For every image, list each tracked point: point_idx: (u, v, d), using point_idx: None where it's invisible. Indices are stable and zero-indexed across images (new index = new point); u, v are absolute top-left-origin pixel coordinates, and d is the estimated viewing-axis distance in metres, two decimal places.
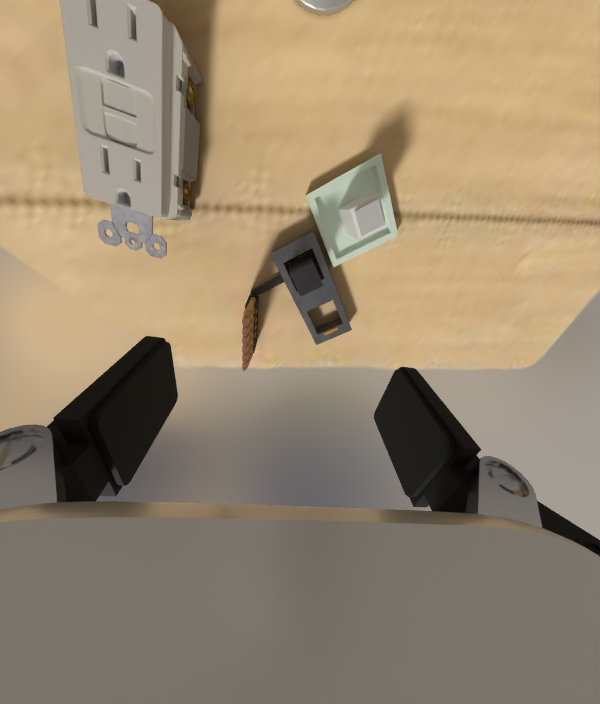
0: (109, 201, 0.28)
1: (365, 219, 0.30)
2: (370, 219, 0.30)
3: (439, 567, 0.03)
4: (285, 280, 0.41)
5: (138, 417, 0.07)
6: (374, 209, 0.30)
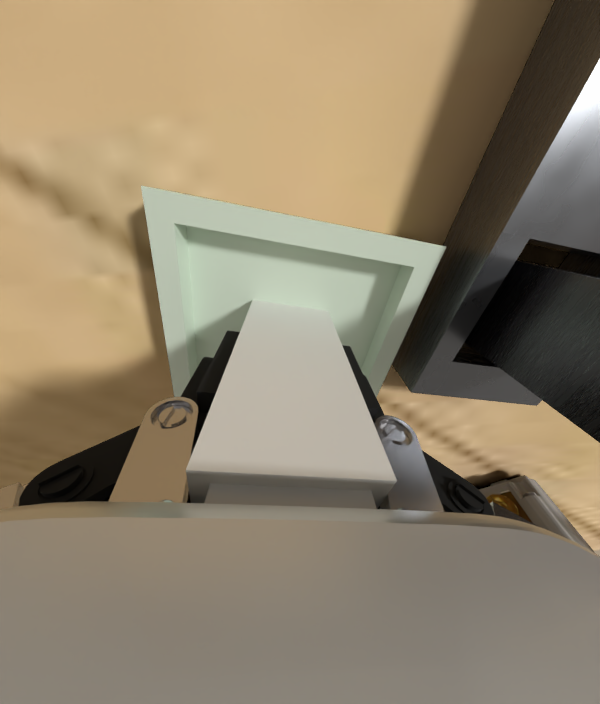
0: None
1: None
2: None
3: (440, 568, 0.03)
4: None
5: None
6: None
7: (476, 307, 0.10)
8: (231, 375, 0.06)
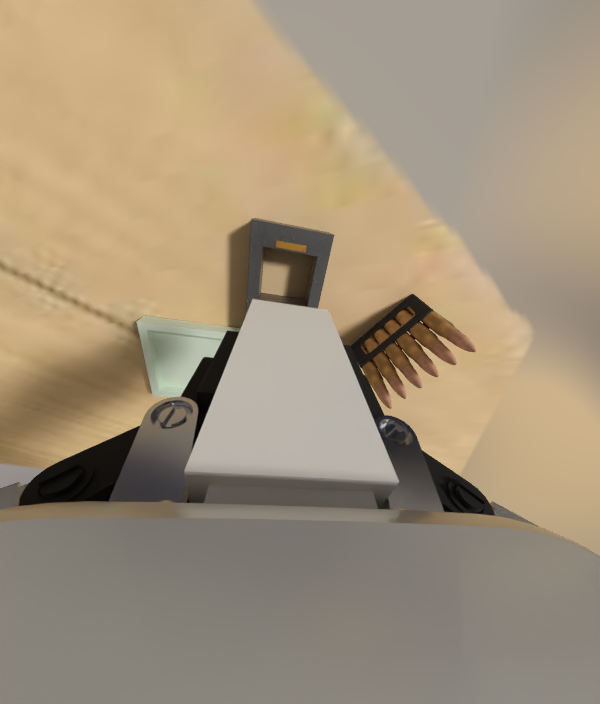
0: None
1: None
2: None
3: (439, 567, 0.03)
4: None
5: None
6: None
7: None
8: (231, 374, 0.06)
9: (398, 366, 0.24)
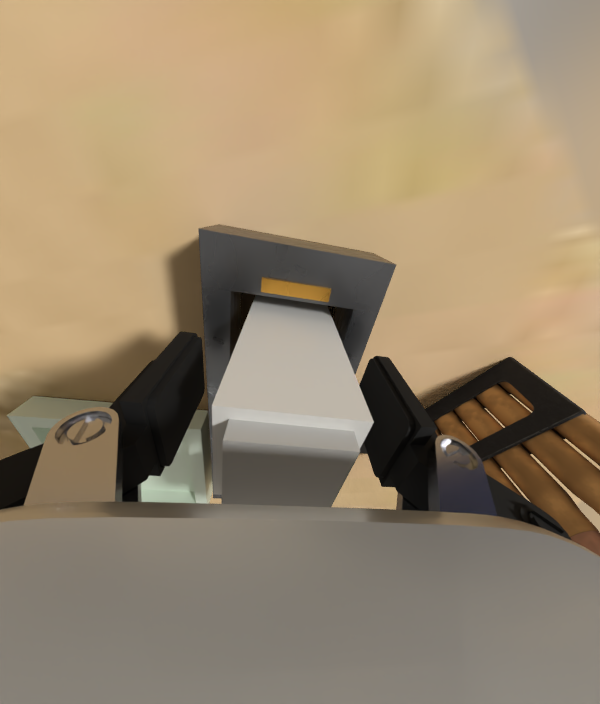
0: None
1: (305, 487, 0.06)
2: (285, 480, 0.06)
3: (439, 568, 0.03)
4: None
5: (179, 405, 0.07)
6: (250, 495, 0.06)
7: None
8: (242, 346, 0.08)
9: None
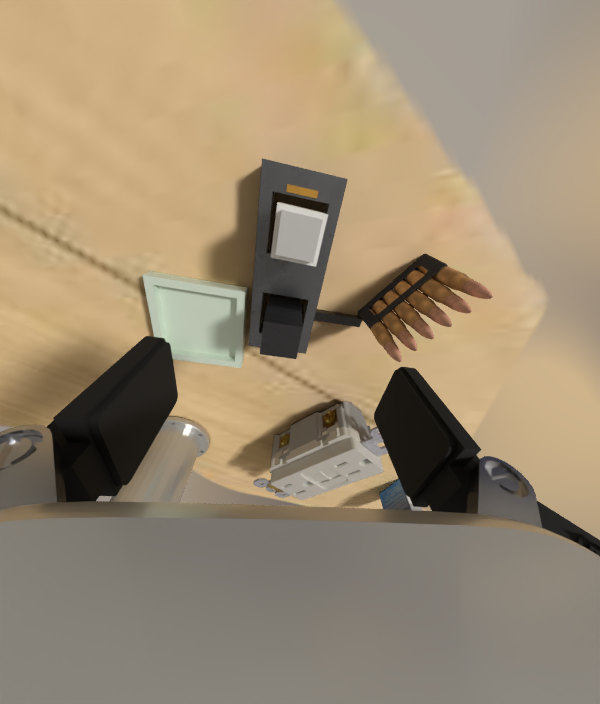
0: (375, 464, 0.35)
1: (305, 240, 0.18)
2: (298, 235, 0.18)
3: (439, 568, 0.03)
4: (311, 321, 0.29)
5: (138, 417, 0.07)
6: (286, 245, 0.18)
7: (257, 313, 0.28)
8: None
9: (409, 321, 0.24)
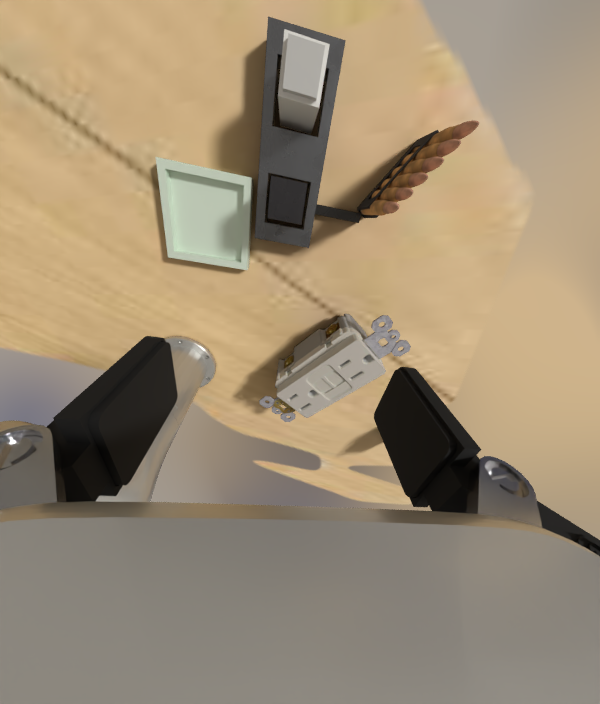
0: (377, 362, 0.37)
1: (309, 71, 0.20)
2: (303, 64, 0.20)
3: (440, 569, 0.03)
4: (314, 208, 0.31)
5: (138, 417, 0.07)
6: (292, 76, 0.20)
7: (263, 197, 0.30)
8: None
9: (405, 181, 0.26)
